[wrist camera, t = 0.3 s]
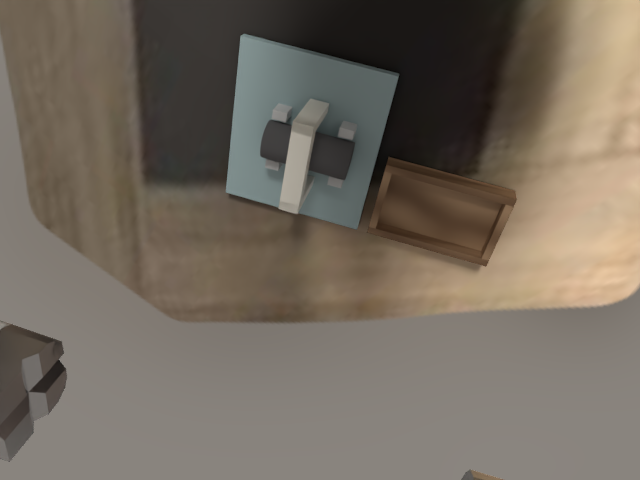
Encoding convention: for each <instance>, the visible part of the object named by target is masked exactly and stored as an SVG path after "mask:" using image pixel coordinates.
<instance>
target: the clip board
mask: <svg viewBox="0 0 640 480" xmlns="http://www.w3.org/2000/svg"><path fill="white" fill-rule="evenodd" d="M398 78H399V73H395V72H391V71H387V70H383V69H379V68H376V67H372V66H368V65H364V64H360V63H356V62H352V61H348V60H344V59H340V58H337V57H333V56H329V55H325V54H321V53H317V52H313V51H309V50H305V49H301V48H298V47H294V46H290V45H286V44H282V43H278V42H274V41H270V40H266V39H262V38H259V37H255V36H251V35H247V34H243V35H241V38H240V49H239V59H238V70H237V80H236V91H235V101H234V112H233V122H232V133H231V143H230V154H229V164H228V175H227V185H226V193H230V194H233V195H237V196H240V197H244V198H247V199H251V200H254V201H258V202H261V203H265V204H268V205H272V206H275V207H279V202H280V196H281V190H282V184H283V178H284V172H285V166H286V164H284V163H280V162H277V161H273V160H269V159H266V158H262V157H261V156H260V146H261V140H262V136H263V133H264V130H265V127H266V125H267V123H268V121H269V120H274V121H278V122H282V123H285V124H289V125H292V123H293V120H294V119H295V118H296V117H297V115H298V114H299V113H300V111H301V110H302V109H303V108H304V106H305V105H306V104H307V102H308V101H309V100H310V98H311V99H315V100H319V101H322V102H326V103H329V108H328V113H327V114H326V116H325V118H324V119H323V121H322V122H321V124H320V125H319V127H318V128H317V130H316V132H319V133H322V134H326V135H330V136H334V137H337V138H341V139H345V140H348V141H352V142H355V147H354V152H353V156H352V160H351V163H350V167H349V170H348V173H347V176H346V179H345V180H342V179H338V178H334V177H331V176H327V175H324V174H320V173H316V172H313V171H309V170H308V174H307V175H310V176H314V177H315V178H314V183H313V186H312V188H311V190H310V191H309V193H308V195H307V197H306V199H305V201H304V203H303V205H302V206H301V208H300V210H299V212H298V213H300V214H304V215H307V216H311V217H314V218H318V219H321V220H325V221H328V222H332V223H335V224H339V225H342V226H346V227H349V228H353V229H356V230H357V228H358V225H359V221H360V218H361V214H362V210H363V207H364V203H365V199H366V195H367V192H368V188H369V184H370V181H371V177H372V173H373V170H374V166H375V162H376V159H377V155H378V151H379V148H380V144H381V140H382V137H383V133H384V129H385V125H386V122H387V118H388V114H389V111H390V107H391V103H392V100H393V96H394V92H395V89H396V85H397V81H398Z"/></svg>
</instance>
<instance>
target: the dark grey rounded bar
mask: <svg viewBox="0 0 640 480" xmlns="http://www.w3.org/2000/svg"><path fill="white" fill-rule="evenodd" d="M291 129H292V125H289V124H285V123H282V122H278V121H274V120H269V121H268V123H267V125H266V127H265V130H264V133H263V136H262V140H261V146H260V156H261V157H262V158H266V159H269V160H273V161H277V162H280V163H284V164H286V160H287V154H288V148H289V141H290V135H291ZM354 147H355V142H352V141H348V140H345V139H341V138H337V137H334V136H330V135H326V134H322V133H319V132H315V138H314V143H313V148H312V153H311V158H310V164H309V169H308V170H309V171H313V172H316V173H320V174H324V175H327V176H331V177H334V178H338V179H342V180H345V179H346V176H347V173H348V170H349V167H350V163H351V160H352V156H353V152H354Z"/></svg>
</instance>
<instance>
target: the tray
mask: <svg viewBox="0 0 640 480" xmlns="http://www.w3.org/2000/svg"><path fill="white" fill-rule="evenodd" d="M516 200H517V199H516V194H515V191H514V190H510V189H506V188H503V187H499V186H495V185H491V184H488V183H484V182H480V181H477V180H473V179H469V178H466V177H462V176H458V175H455V174H451V173H447V172H443V171H440V170H436V169H432V168H429V167H425V166H421V165H418V164H414V163H410V162H406V161H403V160H399V159H395V158H392V157H388V161H387V164H386V168H385V171H384V175H383V178H382V182H381V185H380V189H379V192H378V196H377V199H376V203H375V206H374V210H373V213H372V217H371V220H370V224H369V227H368V231H367V233H371V234H374V235H378V236H381V237H385V238H388V239H392V240H395V241H399V242H402V243H406V244H409V245H413V246H416V247H420V248H423V249H427V250H430V251H434V252H437V253H441V254H444V255H448V256H452V257H455V258H459V259H462V260H466V261H469V262H473V263H476V264H480V265H483V266H487V263H488V261H489V259H490V257H491V255H492V253H493V250H494V248H495V246H496V244H497V242H498V240H499V237H500V235H501V233H502V231H503V229H504V227H505V224H506V222H507V220H508V218H509V216H510V214H511V211H512V209H513V207H514V205H515V203H516Z"/></svg>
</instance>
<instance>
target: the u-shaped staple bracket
mask: <svg viewBox="0 0 640 480" xmlns="http://www.w3.org/2000/svg"><path fill="white" fill-rule="evenodd" d="M328 108H329V103H326V102H322V101H319V100H315V99H311V98H310V100H309V101H308V102H307V104H306V105H305V106H304V108H303V109H302V110H301V111H300V113H299V114H298V115H297V117H296V118H295V119H294V120H293V123H292V129H291V135H290V141H289V148H288V154H287V160H286V166H285V172H284V178H283V184H282V190H281V196H280V202H279V208H278V209H280V210H284V211H287V212H291V213H294V214H298V212H299V210H300V208H301V206H302V205H303V203H304V201H305V199H306V197H307V195H308V193H309V191H310V190H311V188H312V186H313V183H314V178H315V177H314V176H310V175H307V174H308V169H309V164H310V158H311V153H312V148H313V143H314V138H315V132H316V130H317V128H318V127H319V125H320V124H321V122H322V121H323V119H324V118H325V116H326V114H327V113H328Z"/></svg>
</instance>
